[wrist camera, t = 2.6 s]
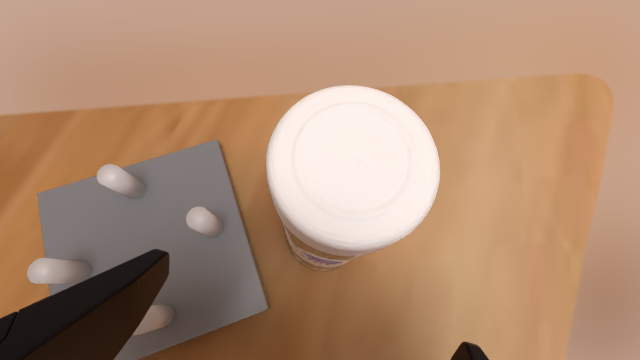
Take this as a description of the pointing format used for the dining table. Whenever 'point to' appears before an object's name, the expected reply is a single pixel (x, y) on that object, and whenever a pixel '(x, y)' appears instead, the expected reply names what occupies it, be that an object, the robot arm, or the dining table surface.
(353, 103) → the sprinkles bottle
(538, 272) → the dining table surface
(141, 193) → the pin tray
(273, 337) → the dining table surface
